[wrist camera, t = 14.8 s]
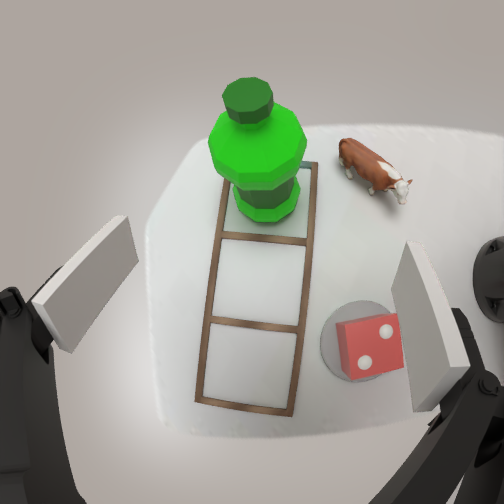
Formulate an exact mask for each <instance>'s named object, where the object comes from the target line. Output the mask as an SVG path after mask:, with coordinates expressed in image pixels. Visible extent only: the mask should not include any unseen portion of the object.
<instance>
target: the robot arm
mask: <svg viewBox="0 0 504 504" xmlns="http://www.w3.org/2000/svg"><path fill="white" fill-rule="evenodd" d="M138 261H139V260H138V257H137V253H136V249H135V245H134V241H133V237H132V232H131V228H130V224H129V220H128V216H115V217H114V218H113V219H112V220H110V221H109V222H108V223H107V224H106V225H105V226H104V227H103V228H102V229H101V230H99V232H97V233H96V234H95V235H94V236H93V237H92V238H91V239H90V240H89V241H88V242H87V243H86V244H85V245H84V246H83V247H82V248H81V249H80V250H79V251H78V252H77V253H76V254H75V255H74V256H73V257H72V258H71V259H70V260H69V261H68V262H67V263H66V264H65V265H63V266H62V267H60V268H58V269H57V270H56V271H55V272H54V273H53V274H52V275H51V276H50V278H49V279H48V280H47V281H46V282H45V284H43V285H42V286H41V287H40V288H39V289H38V290H37V292H36V293H35V294H34V295H33V296H32V297H31V298H30V299H29V301H28V302H27V303H25V301H24V299H23V298H22V296H21V294H20V292H19V290H18V289H17V288H16V287H8V288H6V289H4V290H3V291H2V292H0V504H86V502H85V500H84V499H83V498H82V497H81V496H80V494H79V493H78V491H77V489H76V486H75V483H74V479H73V475H72V472H71V468H70V464H69V460H68V455H67V451H66V446H65V442H64V437H63V432H62V426H61V420H60V414H59V407H58V399H57V390H56V382H55V369H54V353H53V348H52V346H51V342H52V341H53V340H54V341H55V342H56V344H57V345H58V347H59V348H60V349H62V350H64V351H67V352H69V353H72V352H73V351H74V349H75V348H76V347H77V345H78V343H79V342H80V341H81V339H82V338H83V336H84V335H85V333H86V332H87V330H88V329H89V327H90V326H91V325H92V323H93V322H94V320H95V319H96V318H97V316H98V315H99V313H100V312H101V311H102V309H103V308H104V306H105V305H106V304H107V302H108V301H109V300H110V298H111V297H112V296H113V294H114V293H115V292H116V290H117V289H118V287H119V286H120V285H121V284H122V282H123V281H124V280H125V278H126V277H127V276H128V274H129V273H130V272H131V271H132V269H133V268H134V267H135V265H136V264H137V263H138ZM473 284H474V291H475V295H476V299H477V302H478V304H479V306H480V308H481V310H482V311H483V313H484V314H485V315H486V316H487V317H488V318H490V319H491V320H493V321H496V322H504V236H502V237H497V238H495V239H493V240H490V241H488V242H487V243H486V244H485V245H484V246H483V247H482V248H481V250H480V251H479V253H478V255H477V258H476V261H475V265H474V272H473ZM391 291H392V295H393V299H394V303H395V307H396V312H397V316H398V321H399V325H400V330H401V335H402V340H403V345H404V351H405V356H406V362H407V368H408V375H409V382H410V389H411V396H412V405H413V412H425V411H432V410H433V409H434V408H435V407H436V406H437V405H438V404H440V410H441V412H440V413H439V414H438V415H437V416H436V417H435V418H434V419H433V420H432V421H431V422H430V423H429V424H428V426H430V425H431V426H430V427H429V429H428V430H427V432H426V433H425V435H424V436H423V438H422V439H421V440H420V442H419V443H418V445H417V446H416V447H415V449H414V450H413V451H412V453H411V454H410V455H409V457H408V458H407V459H406V461H405V462H404V463H403V465H402V466H401V467H400V468H399V470H398V471H397V472H396V473H395V475H394V476H393V477H392V478H391V479H390V480H389V481H388V483H387V484H386V485H385V486H384V487H383V488H382V490H381V491H380V492H379V493H378V494H377V495H376V496H375V497H374V498H373V499H372V500H371V501H370V502H369V504H446V502H447V501H448V499H449V498H450V496H451V495H452V493H453V492H454V490H455V489H456V487H457V485H458V484H459V482H460V480H461V479H462V477H463V475H464V477H463V480H462V483H461V486H460V488H459V491H458V494H457V496H456V499H455V501H454V504H504V386H501V385H500V382H499V380H498V378H497V377H496V376H495V375H494V374H493V373H491V372H489V371H487V370H485V367H484V364H483V361H482V358H481V355H480V352H479V349H478V346H477V343H476V341H475V339H474V335H473V332H472V331H471V327H470V325H469V322H468V320H467V318H466V316H465V315H464V314H463V313H462V311H461V310H460V309H459V308H450V305H449V303H448V300H447V298H446V295H445V293H444V291H443V288H442V286H441V284H440V281H439V279H438V277H437V275H436V272H435V270H434V268H433V266H432V264H431V261H430V259H429V257H428V255H427V253H426V251H425V249H424V247H423V245H422V243H419V242H411V241H406V244H405V248H404V251H403V254H402V258H401V261H400V264H399V267H398V270H397V273H396V276H395V279H394V282H393V285H392V288H391Z"/></svg>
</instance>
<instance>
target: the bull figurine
mask: <svg viewBox="0 0 504 504" xmlns="http://www.w3.org/2000/svg"><path fill="white" fill-rule="evenodd" d="M339 162H340V164H341V165H342V166H343V165H344V166H345V168H346V173H345V174H346V175H347V178H348V179H350V180H352V179H353V175H352V173H351V172H350V166H354V168H355V169H356V171H357V173H358V174H359V175H360V176H361V177H362V178H364V179H366V180H369V181H370V182H372V183H373V186H372V187H371V188H369V189H368V191H369V194H370V195H371V196H373V195H374V194H375V192H374V190H375V191H376V190H383V191H385V192H387V191H388V190H391V191H393V193H394V195H395V196H396V197H397V199H398V203H399V204H405V203H406V202H407V200H406V196H407V194H408V190H409V188H408V185H409V184H410V183H411V182H412V180H409V181H407V182H405V181H404V180H403V178H402V176H401V175H400V174H399V172H398V171H396V170H395V169H394V168H393V166H392V165H391V164H389V163H388V162H386V161H385V160H384V159H383V158H382V157H380V156H379V155H377V154H376V153H375V152H373V151H371V150H370V149H368V148H367V147H366V146H364V145H363V144H361V143H360V142H358V141H356V140H354V139H352V138H347V139H341V140H340V142H339Z"/></svg>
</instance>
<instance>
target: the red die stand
mask: <svg viewBox="0 0 504 504" xmlns="http://www.w3.org/2000/svg"><path fill="white" fill-rule="evenodd" d="M320 347H321V353H322V356H323V359H324V361H325V363H326V364H327V366H328V367H329V369H330V370H331V371H332V372H333V373H334V374H336V375H337V376H338V377H340V378H342V379H344V380H347V381H352V382H363V381H368V380H371V379H373V378H376V377H377V376H379V375H381V374H382V373H385V372H388V371H392V370H396V369H399V368H403V367H404V363H403V352H402V343H401V334H400V327H399V321H398V316H397V313H390V312H389V311H388V310H387V309H386V308H385V307H383V306H382V305H380V304H378V303H375V302H372V301H356V302H351V303H348V304H346V305H344V306H342V307H340V308H339V309H337V310H336V311H335V312H334V313H333V314H332V315H331V316H330V317H329V318H328V320H327V322H326V323H325V325H324V328H323V330H322V334H321V340H320Z"/></svg>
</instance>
